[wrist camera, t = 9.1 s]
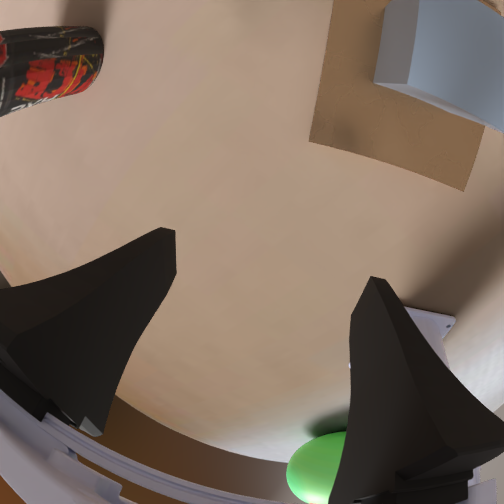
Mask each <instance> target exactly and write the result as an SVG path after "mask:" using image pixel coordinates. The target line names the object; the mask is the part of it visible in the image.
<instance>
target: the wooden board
mask: <svg viewBox="0 0 504 504" xmlns="http://www.w3.org/2000/svg"><path fill="white" fill-rule="evenodd" d="M478 1H480V2H481V3H483V4H484V5H486V6H487V7H489V8H491V9H492V10H494V11H495V12H497V13H498V14H499V15H501V12H500V11H499V10H497V9H496V8H494V7H493V6H491V5H490V4H488V3H487V2H485V1H484V0H478ZM390 2H391V0H334V3H333V10H332V16H331V23H330V29H329V35H328V41H327V47H326V52H325V58H324V64H323V69H322V75H321V80H320V86H319V91H318V96H317V101H316V107H315V112H314V117H313V122H312V127H311V132H310V137H309V142H313V143H317V144H321V145H325V146H329V147H333V148H337V149H341V150H345V151H349V152H352V153H356V154H359V155H363V156H366V157H369V158H373V159H376V160H379V161H382V162H386V163H389V164H392V165H395V166H398V167H401V168H404V169H406V170H409V171H412V172H415V173H418V174H420V175H423V176H426V177H428V178H431V179H434V180H436V181H439V182H441V183H444V184H446V185H449V186H451V187H454V188H456V189H458V190H461V191H463V192H464V189H465V187H466V184H467V181H468V179H469V176H470V173H471V170H472V167H473V164H474V161H475V158H476V155H477V152H478V149H479V146H480V142H481V139H482V135H483V132H484V128H485V125H482V124H480V123H477V122H475V121H472V120H469V119H467V118H464V117H461V116H458V115H455V114H452V113H450V112H447V111H445V110H443V109H441V108H439V107H436V106H434V105H432V104H429V103H427V102H425V101H422V100H420V99H417V98H415V97H412V96H410V95H407V94H404V93H402V92H399V91H396V90H393V89H390V88H387V87H384V86H381V85H378V84H375V83H373V80H374V75H375V70H376V64H377V59H378V53H379V47H380V41H381V34H382V28H383V20H384V13H385V7H386V6H387V5H388V4H389V3H390Z"/></svg>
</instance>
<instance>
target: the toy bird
mask: <svg viewBox="0 0 504 504" xmlns="http://www.w3.org/2000/svg"><path fill="white" fill-rule="evenodd" d="M345 436H346V431H344V432H336V433H331V434H327V435H323V436H320V437H318V438H315V439H313V440H311V441H309V442H307V443H306V444H304V445H303V446H301V447H300V448H299V449H298V450H297V451H296V452H295V453H294V454H293V456H292V457H291V459H290V461H289V463H288V466H287V473H286V476H287V481H288V485H289V487H290V489H291V490H292V492H293V493H294V494H295V495H296V496H297V497H298V498H300V499H301V500H302V501H304V502H306V503H309V504H328V499H329V496H330V493H331V490H332V487H333V484H334V481H335V478H336V474H337V471H338V468H339V464H340V459H341V455H342V451H343V447H344V441H345Z"/></svg>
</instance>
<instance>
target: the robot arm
mask: <svg viewBox="0 0 504 504" xmlns="http://www.w3.org/2000/svg"><path fill="white" fill-rule="evenodd" d="M176 274H177V271H176V241H175V230H171V229H167V228H163V227H160V228H157V229H155V230H153V231H151V232H149V233H147V234H145V235H143V236H141V237H139V238H137V239H135V240H133V241H131V242H129V243H128V244H126V245H124V246H122V247H120V248H118V249H116V250H114V251H112V252H110V253H108V254H106V255H104V256H102V257H100V258H98V259H96V260H94V261H91V262H89V263H87V264H85V265H82V266H80V267H77V268H75V269H72V270H70V271H67V272H65V273H62V274H59V275H56V276H52V277H49V278H46V279H43V280H40V281H37V282H33V283H29V284H25V285H20V286H16V287H11V288H5V289H0V475H1V476H2V477H3V478H4V480H5V481H6V482H7V483H8V484H9V485H10V486H11V487H12V489H13V490H14V491H15V492H16V493H17V494H18V495H19V496H20V497H21V498H22V499H23V500H24V501H25V502H26V503H27V504H137V503H135V502H132V501H130V500H128V499H125V498H123V497H121V496H119V493H120V491H121V489H122V486H121V484H119V483H117V482H115V481H113V480H111V479H109V478H107V477H105V476H103V475H101V474H99V473H98V472H96V471H94V470H92V469H90V468H89V467H87V466H85V465H83V464H82V463H80V462H79V461H78V460H77V455H76V453H78V454H80V455H81V456H83V457H85V458H86V459H88V460H90V461H92V462H93V463H95V464H97V465H99V466H101V467H103V468H105V469H106V470H109V471H110V472H113V473H114V474H116V475H118V476H121V477H123V478H125V479H127V480H129V481H131V482H134V483H136V484H138V485H141V486H143V487H145V488H148V489H150V490H153V491H155V492H158V493H161V494H163V495H166V496H169V497H171V498H174V499H177V500H180V501H183V502H187V503H190V504H295V503H286V502H278V501H271V500H264V499H258V498H252V497H248V496H243V495H238V494H233V493H228V492H225V491H220V490H216V489H213V488H209V487H205V486H202V485H198V484H195V483H192V482H189V481H185V480H183V479H180V478H177V477H174V476H171V475H168V474H165V473H163V472H160V471H157V470H155V469H152V468H150V467H147V466H145V465H143V464H140V463H138V462H135V461H133V460H131V459H129V458H127V457H125V456H122V455H120V454H118V453H116V452H114V451H112V450H110V449H108V448H106V447H104V446H102V445H100V444H99V443H96V442H95V441H93V440H91V439H90V438H88V437H86V436H84V435H83V434H81V433H79V432H77V431H76V430H74V429H72V428H71V427H69V424H70V425H72V426H73V427H75V428H77V429H78V428H80V429H81V430H83V431H85V432H87V433H88V434H90V435H92V436H94V437H97V436H100V435H102V434H103V432H104V428H105V424H106V421H107V417H108V413H109V410H110V406H111V404H112V401H113V398H114V395H115V392H116V389H117V386H118V384H119V381H120V379H121V376H122V374H123V371H124V369H125V366H126V364H127V362H128V360H129V358H130V355H131V353H132V351H133V349H134V347H135V345H136V343H137V341H138V339H139V338H140V336H141V335H142V333H143V331H144V330H145V328H146V327H147V325H148V323H149V322H150V320H151V319H152V317H153V316H154V314H155V312H156V311H157V309H158V308H159V306H160V304H161V303H162V301H163V300H164V298H165V297H166V295H167V293H168V291H169V289H170V287H171V285H172V282H173V280H174V278H175V276H176ZM455 322H456V320H455V317H453V316H448V315H443V314H438V313H433V312H428V311H424V310H419V309H414V308H409V307H404V306H403V304H402V303H401V301H400V300H399V298H398V297H397V295H396V294H395V292H394V291H393V289H392V288H391V286H390V285H389V283H388V282H387V281H386V280H385V279H381V278H377V277H373V276H370V278H369V280H368V283H367V285H366V287H365V289H364V291H363V293H362V295H361V297H360V299H359V301H358V303H357V305H356V307H355V309H354V311H353V312H352V314H351V322H350V336H349V346H350V362H349V368H350V374H351V399H350V409H349V417H348V424H347V430H346V436H345V441H344V447H343V451H342V455H341V459H340V464H339V468H338V471H337V474H336V478H335V481H334V484H333V487H332V490H331V493H330V496H329V499H328V504H496V503H497V501H496V500H497V495H496V479H495V478H493V479H491V480H487V481H484V482H481V483H480V470H481V465H483V464H484V463H486V462H488V461H490V460H492V459H493V458H495V457H497V456H499V455H500V454H501V453H503V452H504V422H503V421H502V420H501V419H500V418H499V417H497V416H496V415H495V414H494V413H493V412H491V411H490V410H489V409H488V408H486V407H485V406H484V405H483V404H482V403H481V402H480V401H479V400H478V399H477V398H476V397H474V396H473V395H472V394H471V393H470V392H469V391H468V390H467V389H466V388H465V387H464V385H463V384H462V383H461V382H460V381H459V380H458V379H457V378H456V377H455V376H454V374H453V373H452V372H451V371H450V368H449V364H448V360H447V356H446V352H445V348H444V344H443V341H442V339H443V338H444V336H445V335H446V334H447V333H448V331H449V330H450V329H451V328H452V326H453V325H454V324H455ZM74 451H75V452H76V453H75V452H74Z"/></svg>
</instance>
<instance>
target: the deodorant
mask: <svg viewBox="0 0 504 504" xmlns="http://www.w3.org/2000/svg"><path fill="white" fill-rule="evenodd" d="M103 55H104V51H103V43H102V39H101V37H100V35H99V34H98V32H97V31H96V30H94V29H93V28H90V27H81V26H54V27H34V28H23V29H13V30H6V31H0V117H2V116H4V115H7V114H9V113H12V112H15V111H18V110H21V109H24V108H27V107H30V106H33V105H36V104H39V103H43V102H46V101H49V100H53V99H57V98H61V97H64V96H68V95H73V94H77V93H80V92H83V91H84V90H86V89H87V88H88V87H90V85H91V84H92V83H93V82H94V81H95V79H96V77H97V75H98V74H99V72H100V69H101V66H102V62H103Z"/></svg>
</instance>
